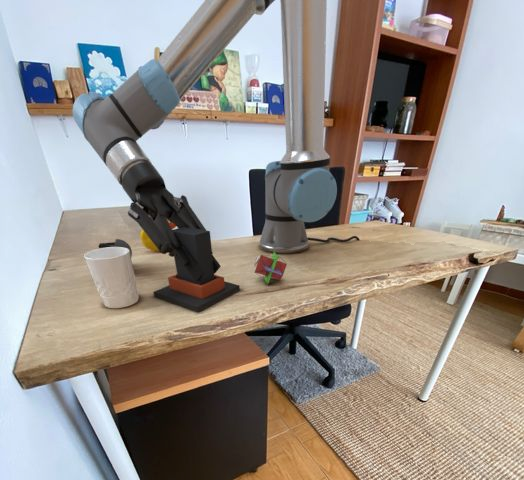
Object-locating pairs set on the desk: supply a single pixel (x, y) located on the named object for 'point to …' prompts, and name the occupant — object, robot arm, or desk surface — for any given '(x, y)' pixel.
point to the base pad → (196, 292)
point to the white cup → (113, 276)
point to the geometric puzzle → (270, 267)
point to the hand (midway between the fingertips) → (208, 273)
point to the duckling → (147, 240)
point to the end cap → (116, 245)
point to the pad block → (195, 253)
